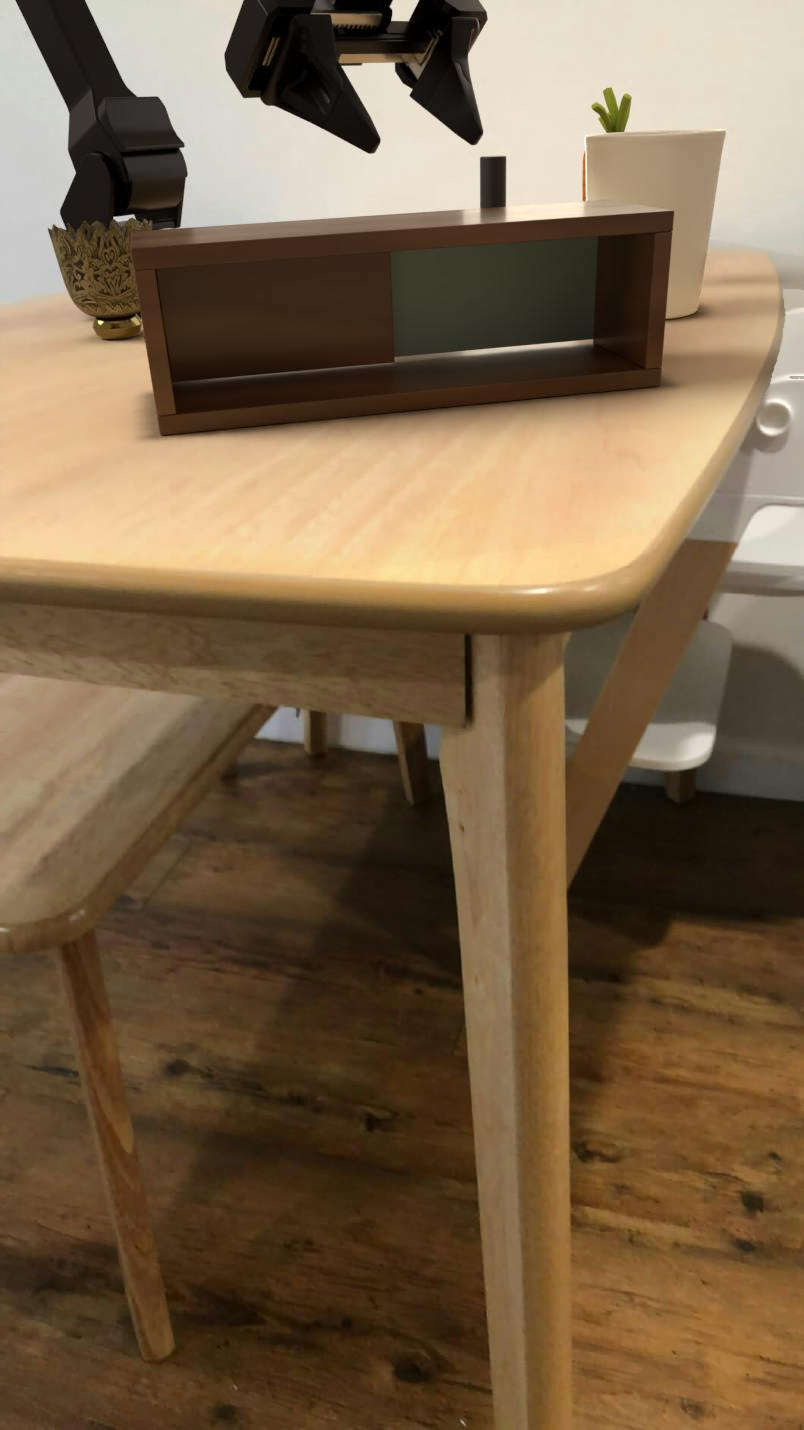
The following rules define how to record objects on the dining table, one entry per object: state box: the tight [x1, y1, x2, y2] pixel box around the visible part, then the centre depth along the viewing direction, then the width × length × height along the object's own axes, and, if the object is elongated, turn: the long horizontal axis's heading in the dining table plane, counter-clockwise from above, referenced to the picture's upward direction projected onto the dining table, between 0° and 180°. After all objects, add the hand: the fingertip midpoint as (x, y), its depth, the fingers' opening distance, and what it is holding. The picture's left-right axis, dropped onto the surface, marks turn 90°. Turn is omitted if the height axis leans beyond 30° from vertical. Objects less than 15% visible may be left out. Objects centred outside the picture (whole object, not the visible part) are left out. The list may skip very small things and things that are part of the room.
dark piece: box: [390, 154, 598, 357], centre depth 64 cm, size 5×13×10 cm, turn 103°
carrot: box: [581, 87, 633, 202], centre depth 87 cm, size 5×5×15 cm
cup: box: [47, 217, 152, 340], centre depth 78 cm, size 8×7×8 cm
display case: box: [131, 200, 674, 436], centre depth 59 cm, size 10×28×9 cm, turn 103°
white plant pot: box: [583, 128, 727, 320], centre depth 77 cm, size 10×10×12 cm
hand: (429, 143), depth 66 cm, fingers open, 9 cm apart
